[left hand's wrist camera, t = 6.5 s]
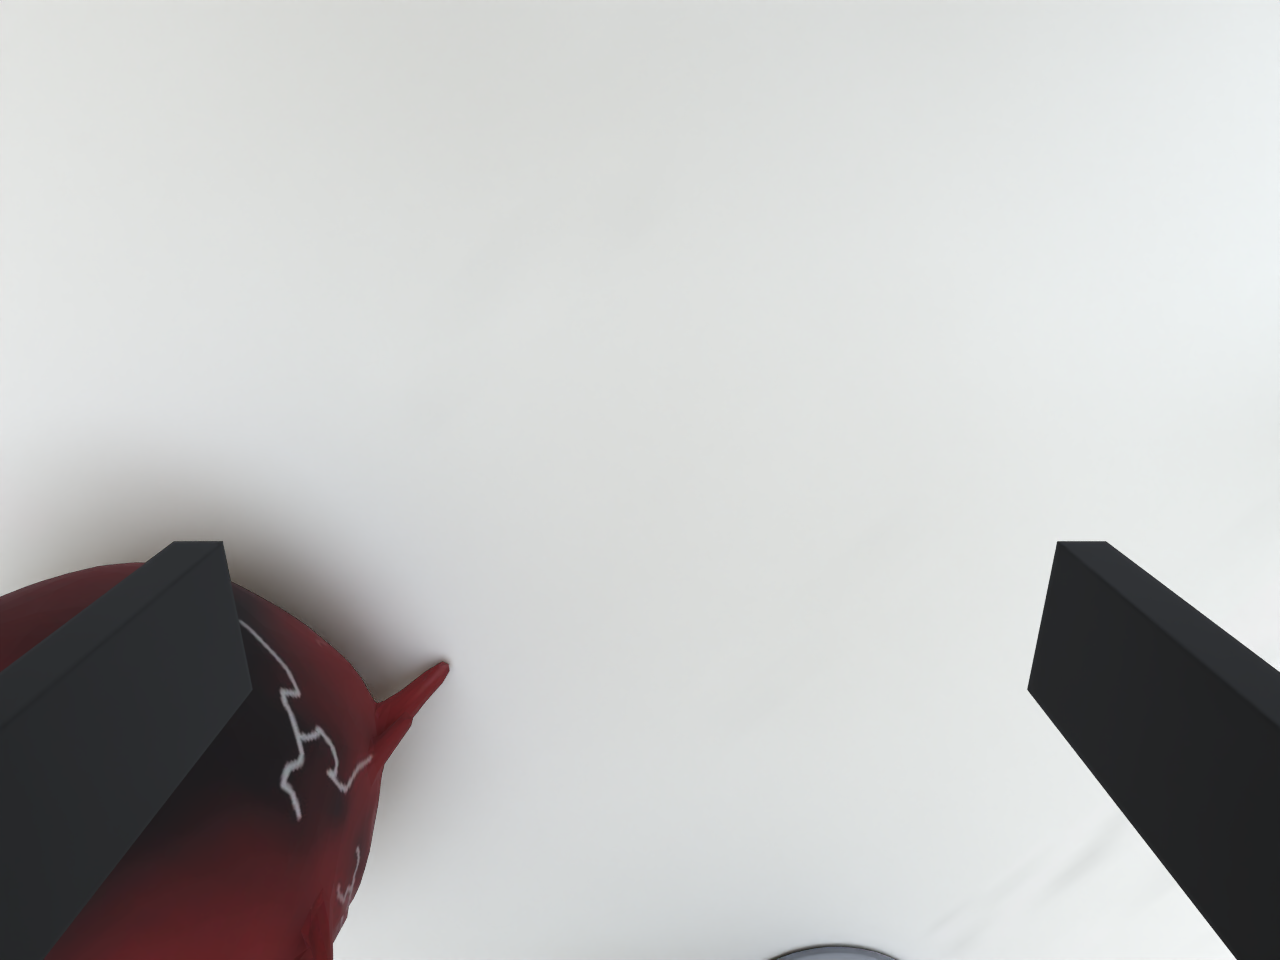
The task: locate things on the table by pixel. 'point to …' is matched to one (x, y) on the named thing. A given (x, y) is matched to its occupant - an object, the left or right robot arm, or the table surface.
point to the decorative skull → (242, 797)
